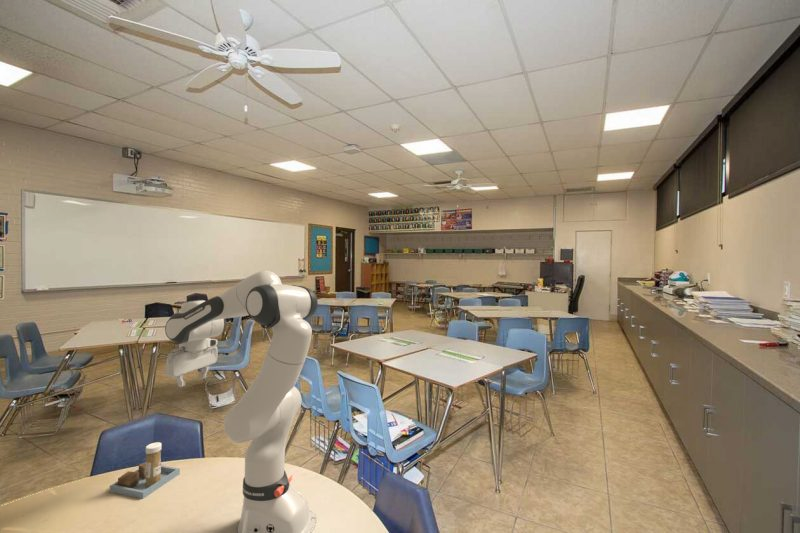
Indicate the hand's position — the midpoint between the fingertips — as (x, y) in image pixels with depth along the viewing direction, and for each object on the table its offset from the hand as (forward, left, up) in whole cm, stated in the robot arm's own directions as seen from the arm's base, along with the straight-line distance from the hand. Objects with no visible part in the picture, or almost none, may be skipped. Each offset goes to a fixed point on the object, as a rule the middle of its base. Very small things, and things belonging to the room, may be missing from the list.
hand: (192, 382), depth 127 cm
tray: (+11, +8, -34) cm, 37 cm away
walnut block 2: (+14, +4, -34) cm, 37 cm away
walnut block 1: (+14, +11, -34) cm, 38 cm away
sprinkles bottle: (+8, +8, -34) cm, 36 cm away
